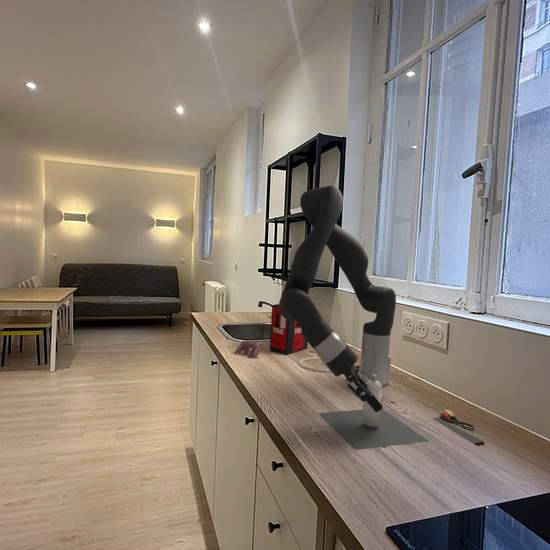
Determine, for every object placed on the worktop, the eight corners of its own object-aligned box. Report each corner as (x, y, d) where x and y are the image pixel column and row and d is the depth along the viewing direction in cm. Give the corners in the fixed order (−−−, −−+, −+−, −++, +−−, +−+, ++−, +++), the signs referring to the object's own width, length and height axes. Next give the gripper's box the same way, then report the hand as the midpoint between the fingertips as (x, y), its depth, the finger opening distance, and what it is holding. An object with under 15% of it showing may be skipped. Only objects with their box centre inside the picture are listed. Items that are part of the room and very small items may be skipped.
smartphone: (438, 417, 112) (485, 441, 98) (437, 420, 112) (485, 445, 98) (418, 420, 109) (464, 445, 96) (418, 423, 109) (464, 449, 96)
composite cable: (476, 430, 106) (477, 421, 106) (462, 433, 105) (463, 423, 104) (446, 415, 115) (447, 407, 115) (433, 417, 114) (434, 409, 113)
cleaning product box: (286, 355, 169) (289, 307, 167) (269, 351, 174) (272, 304, 173) (307, 348, 182) (310, 304, 181) (290, 344, 187) (293, 301, 186)
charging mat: (381, 410, 116) (381, 407, 116) (428, 443, 97) (429, 440, 97) (317, 415, 109) (317, 413, 109) (355, 452, 91) (355, 449, 90)
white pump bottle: (373, 418, 106) (377, 371, 105) (382, 425, 102) (386, 377, 101) (358, 419, 105) (362, 372, 104) (367, 427, 100) (371, 378, 99)
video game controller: (259, 360, 164) (264, 344, 166) (253, 357, 160) (259, 341, 162) (239, 356, 169) (244, 340, 171) (233, 353, 165) (239, 336, 168)
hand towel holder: (291, 350, 161) (336, 348, 169) (291, 361, 162) (335, 358, 170) (311, 362, 146) (359, 359, 154) (310, 374, 146) (359, 370, 154)
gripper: (343, 351, 97) (392, 408, 95) (348, 338, 111) (390, 388, 108) (320, 370, 98) (367, 426, 96) (327, 355, 112) (369, 404, 110)
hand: (379, 405), depth 102 cm, fingers closed on white pump bottle, 4 cm apart
